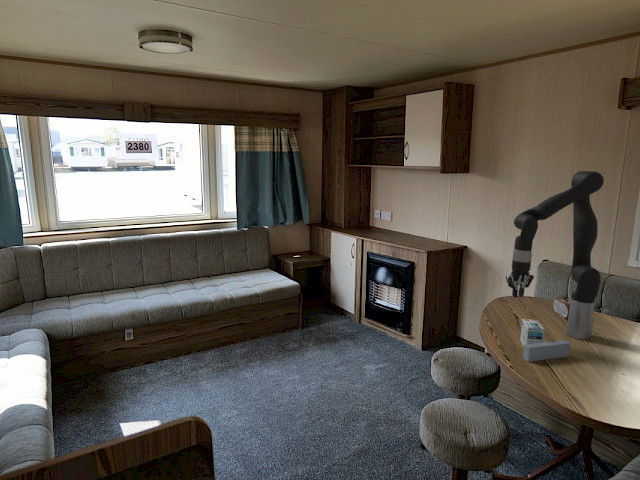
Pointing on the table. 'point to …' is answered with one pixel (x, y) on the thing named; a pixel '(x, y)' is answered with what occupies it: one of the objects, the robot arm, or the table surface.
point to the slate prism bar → (546, 350)
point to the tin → (561, 307)
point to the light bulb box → (531, 332)
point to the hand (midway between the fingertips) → (517, 296)
